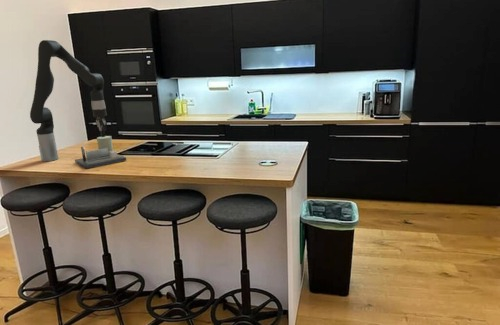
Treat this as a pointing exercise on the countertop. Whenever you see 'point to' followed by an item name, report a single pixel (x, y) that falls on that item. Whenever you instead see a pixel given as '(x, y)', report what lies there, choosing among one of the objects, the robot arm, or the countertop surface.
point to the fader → (113, 154)
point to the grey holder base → (98, 160)
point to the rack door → (97, 153)
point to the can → (105, 143)
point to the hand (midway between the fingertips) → (103, 136)
